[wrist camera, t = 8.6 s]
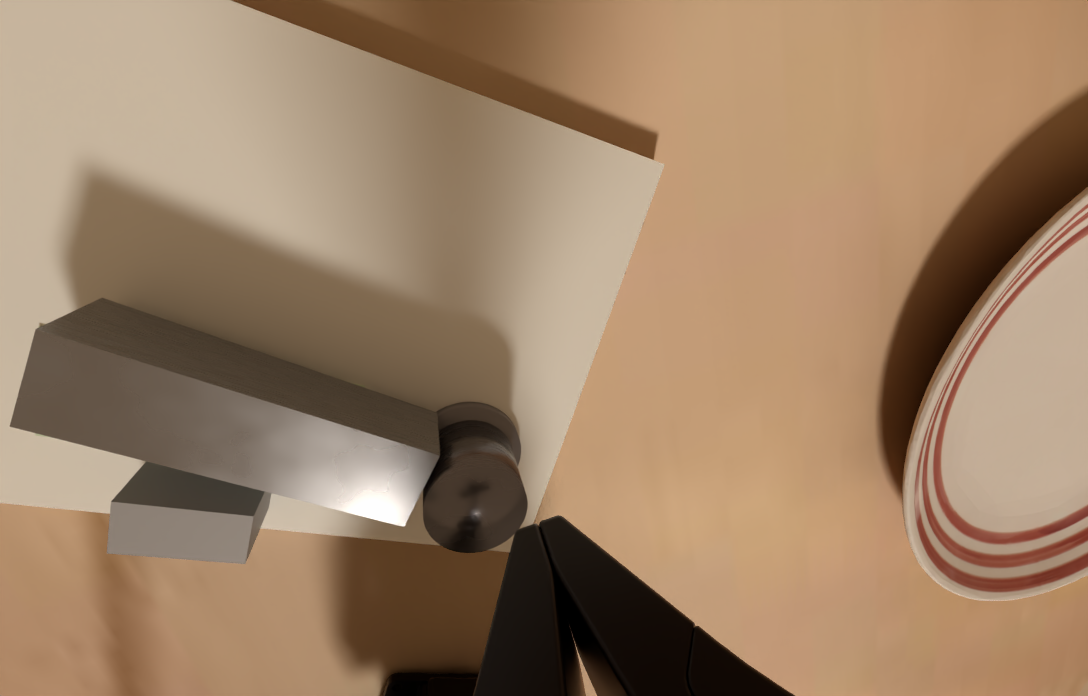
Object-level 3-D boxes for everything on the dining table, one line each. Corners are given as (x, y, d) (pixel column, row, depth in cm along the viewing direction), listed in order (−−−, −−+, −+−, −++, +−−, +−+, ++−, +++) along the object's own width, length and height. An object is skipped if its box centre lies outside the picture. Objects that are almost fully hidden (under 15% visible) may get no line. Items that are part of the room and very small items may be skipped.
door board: (518, 538, 25) (535, 605, 21) (3, 484, 19) (-97, 564, 15) (653, 163, 20) (706, 167, 16) (7, -80, 14) (-142, -161, 10)
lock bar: (527, 436, 21) (545, 483, 18) (489, 506, 22) (500, 562, 19) (104, 288, 16) (32, 321, 13) (75, 388, 17) (1, 439, 14)
